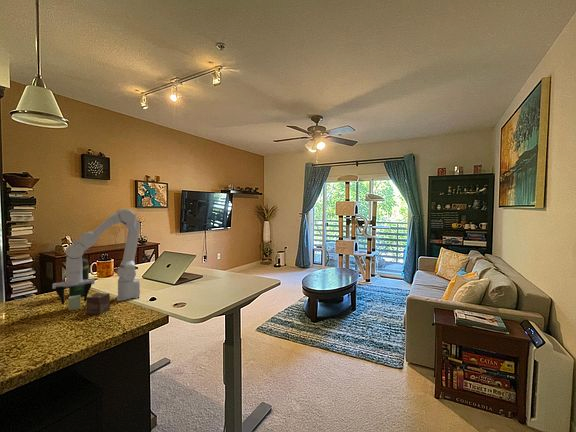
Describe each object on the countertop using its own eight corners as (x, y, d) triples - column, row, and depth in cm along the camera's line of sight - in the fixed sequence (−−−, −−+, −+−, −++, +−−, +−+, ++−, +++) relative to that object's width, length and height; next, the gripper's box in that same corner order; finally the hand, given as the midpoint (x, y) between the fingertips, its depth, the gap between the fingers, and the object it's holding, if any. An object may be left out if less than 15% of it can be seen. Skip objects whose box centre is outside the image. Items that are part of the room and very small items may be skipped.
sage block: (80, 306, 123) (80, 295, 123) (79, 308, 120) (79, 297, 120) (69, 307, 121) (69, 296, 121) (68, 310, 118) (68, 299, 118)
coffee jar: (88, 296, 137) (88, 259, 137) (68, 298, 133) (68, 261, 132) (89, 291, 145) (89, 256, 145) (70, 293, 140) (70, 258, 140)
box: (110, 309, 119) (110, 293, 119) (99, 315, 113) (99, 297, 113) (97, 309, 119) (97, 292, 119) (86, 314, 113) (85, 297, 113)
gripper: (51, 275, 113) (51, 307, 113) (94, 271, 121) (94, 301, 121) (54, 272, 119) (54, 303, 119) (94, 268, 127) (94, 297, 127)
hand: (74, 302), depth 120 cm, fingers open, 7 cm apart
